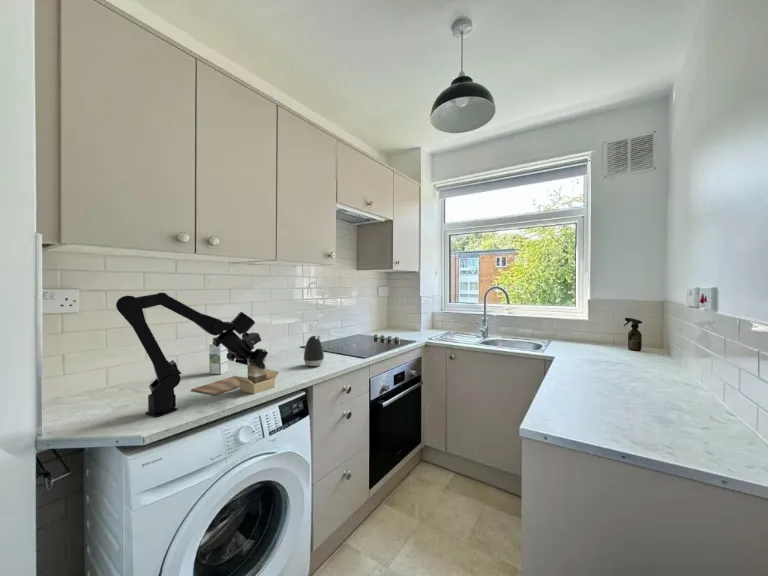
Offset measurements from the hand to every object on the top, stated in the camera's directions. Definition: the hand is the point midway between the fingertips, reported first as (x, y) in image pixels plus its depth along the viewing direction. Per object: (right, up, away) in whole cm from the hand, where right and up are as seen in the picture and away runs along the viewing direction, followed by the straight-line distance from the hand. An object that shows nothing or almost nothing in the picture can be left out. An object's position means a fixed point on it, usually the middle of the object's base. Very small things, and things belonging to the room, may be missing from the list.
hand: (260, 367), depth 126 cm
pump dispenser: (+14, -8, +35) cm, 39 cm away
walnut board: (-15, -8, +3) cm, 18 cm away
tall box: (-1, -8, -1) cm, 8 cm away
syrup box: (-28, -9, +23) cm, 37 cm away
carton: (-1, -8, -1) cm, 8 cm away
